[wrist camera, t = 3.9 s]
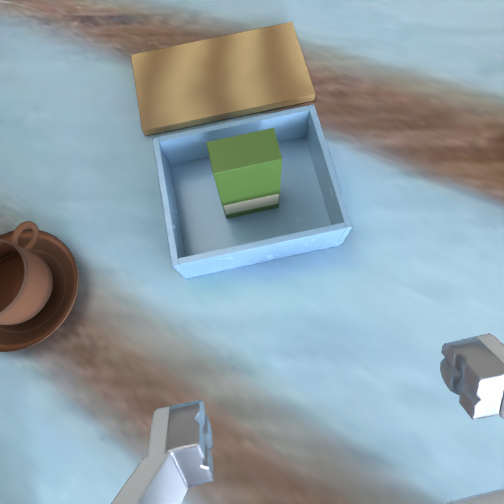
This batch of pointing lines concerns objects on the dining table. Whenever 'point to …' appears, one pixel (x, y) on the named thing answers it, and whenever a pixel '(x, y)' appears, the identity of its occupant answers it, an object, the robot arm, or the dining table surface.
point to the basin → (255, 224)
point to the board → (220, 78)
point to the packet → (247, 172)
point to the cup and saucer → (34, 286)
